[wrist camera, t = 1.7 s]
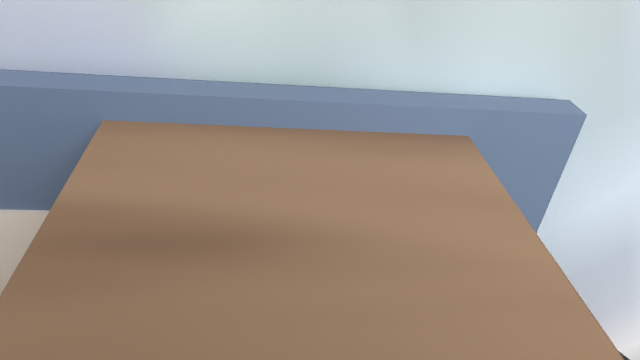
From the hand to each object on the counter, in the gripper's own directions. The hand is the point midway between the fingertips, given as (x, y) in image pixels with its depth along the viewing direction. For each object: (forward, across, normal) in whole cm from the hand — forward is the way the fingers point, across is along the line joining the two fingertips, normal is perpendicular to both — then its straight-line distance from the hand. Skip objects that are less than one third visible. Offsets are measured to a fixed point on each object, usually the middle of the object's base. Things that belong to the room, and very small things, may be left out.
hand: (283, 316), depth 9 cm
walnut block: (+1, 0, 0) cm, 1 cm away
